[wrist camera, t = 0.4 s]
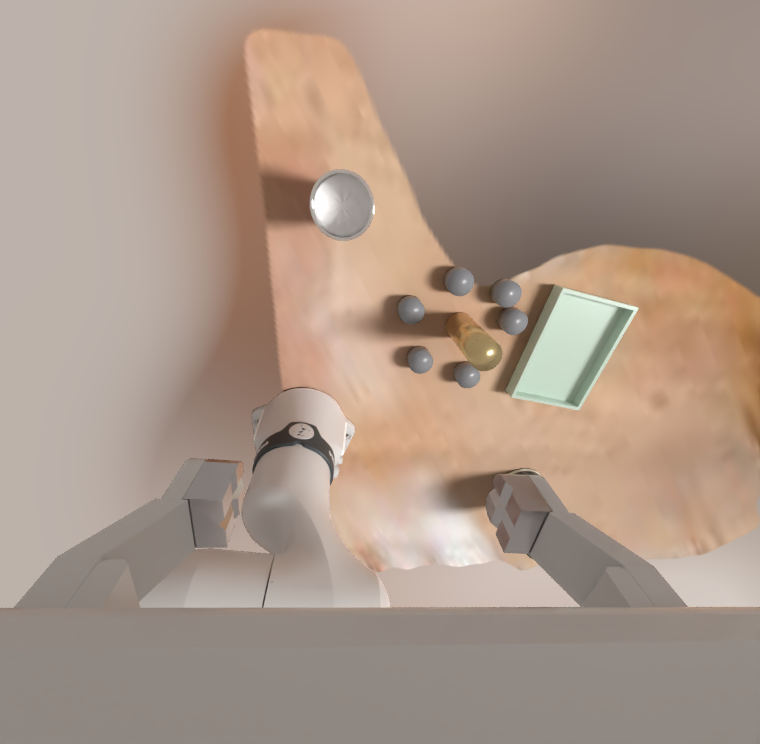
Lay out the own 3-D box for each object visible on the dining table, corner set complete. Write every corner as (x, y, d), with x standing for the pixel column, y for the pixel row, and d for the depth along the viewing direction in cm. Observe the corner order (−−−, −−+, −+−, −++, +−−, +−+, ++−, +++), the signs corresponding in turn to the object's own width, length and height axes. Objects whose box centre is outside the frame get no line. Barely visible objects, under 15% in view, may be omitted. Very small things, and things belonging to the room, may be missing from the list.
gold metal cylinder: (466, 339, 58) (494, 373, 47) (442, 334, 58) (465, 367, 46) (475, 315, 56) (507, 344, 45) (451, 309, 56) (476, 337, 44)
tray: (570, 403, 66) (578, 410, 63) (505, 390, 63) (511, 397, 61) (627, 303, 57) (638, 307, 55) (554, 284, 55) (563, 288, 53)
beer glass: (311, 189, 47) (295, 183, 33) (358, 168, 46) (361, 154, 33) (332, 239, 50) (325, 253, 36) (377, 221, 49) (386, 228, 36)
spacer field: (490, 387, 63) (495, 393, 61) (380, 365, 59) (381, 371, 57) (535, 286, 55) (542, 289, 53) (411, 254, 51) (414, 256, 49)
